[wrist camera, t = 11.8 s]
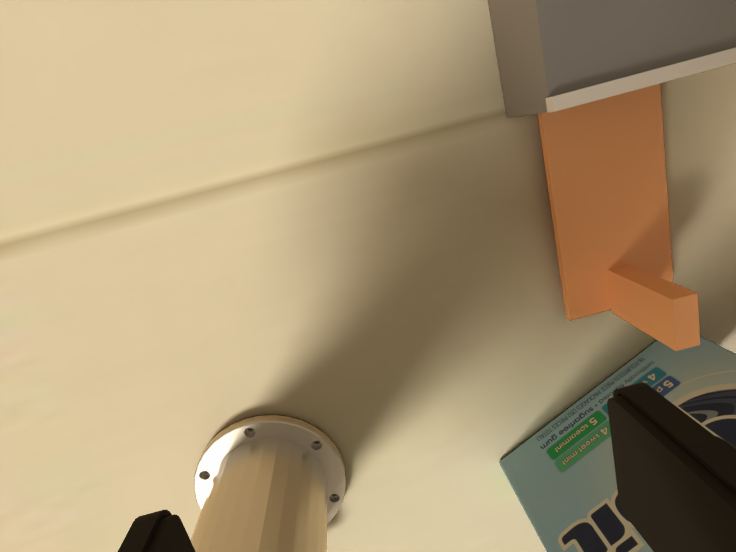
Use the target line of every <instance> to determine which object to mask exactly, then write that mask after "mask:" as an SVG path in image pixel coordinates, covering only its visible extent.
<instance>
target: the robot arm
mask: <svg viewBox="0 0 736 552" xmlns="http://www.w3.org/2000/svg"><path fill="white" fill-rule="evenodd" d="M607 407H608V415H609V424H610V432H611V440H612V449H613V457H614V465H615V474H616V482H617V490H618V498H619V502H620V505H621V508H622V510H623V512H624V514H625V515H626V517H627V518H628V520H629V521H630V522H631V524H632V525H633V526H634V527H635V529H636V530H637V531H638V532H639V534H640V535H641V536H642V538H643V539H644V540H645V541H646V543H647V544H648V545H649V546H650V548H651V549H652V550H653V552H736V448H734V447H733V446H732V445H730V444H729V443H728V442H726V441H725V440H723V439H721V438H720V437H717V436H714V435H713V434H712V433H710V432H709V431H708V430H706V429H705V428H704V427H702V426H701V425H700V424H699V423H697V422H696V421H695V420H693V419H692V418H691V417H689V416H688V415H687V414H685V413H684V412H683V411H682V410H680V409H679V408H678V407H676V406H675V405H674V404H672V403H671V402H670V401H668V400H667V399H666V398H665V397H663V396H662V395H661V394H659V393H658V392H657V391H655V390H654V389H653V388H651V387H650V386H649V385H647V384H646V383H642V382H640V383H636V384H633V385H629V386H625V387H621V388H618V389H615V390H614V393H613V397H612V398H609V399H608V401H607ZM345 486H346V476H345V466H344V463H343V460H342V457H341V454H340V453H339V451H338V449H337V447H336V446H335V444H334V443H333V442H332V441H331V440H330V439H329V438H328V436H327V435H326V434H324V433H323V432H322V431H320V430H319V429H317V428H316V427H315V426H313V425H310V424H308V423H306V422H304V421H302V420H299V419H295V418H292V417H288V416H279V415H264V416H256V417H252V418H247V419H244V420H241V421H239V422H236V423H234V424H232V425H230V426H229V427H227V428H225V429H224V430H222V431H221V432H219V433H218V434H217V435H216V436H215V437H214V438H213V439H212V440H211V441H210V442H209V444H208V445H207V447H206V448H205V450H204V451H203V453H202V456H201V458H200V460H199V462H198V465H197V468H196V471H195V476H194V490H195V495H196V500H197V502H198V505H199V507H200V509H201V513H200V516H199V519H198V522H197V524H196V527H195V530H194V533H193V536H192V538H191V541H190V539H189V536H188V534H187V532H186V530H185V528H184V526H183V524H182V521H181V519H180V518H179V516H177V515H171V513H170V512H169V511H168V510H162V511H158V512H154V513H150V514H147V515H143V516H139V517H138V518H136V519H135V521H134V522H133V524H132V526H131V528H130V530H129V531H128V533H127V535H126V537H125V539H124V541H123V543H122V545H121V547H120V549H119V550H118V552H326V551H327V524H328V523H329V522H330V521H331V520H332V518H333V517H334V516H335V515H336V513H337V512H338V510H339V508H340V506H341V504H342V502H343V498H344V494H345Z"/></svg>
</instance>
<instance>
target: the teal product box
mask: <svg viewBox="0 0 736 552" xmlns="http://www.w3.org/2000/svg"><path fill="white" fill-rule="evenodd" d="M640 382H642V383H646V384H647V385H649V386H650V387H651V388H653V389H654V390H655V391H657V392H658V393H659V394H661V395H662V396H663V397H665V398H666V399H667V400H668V401H670V402H671V403H672V404H674V405H675V406H676V407H678V408H679V409H680V410H682V411H683V412H684V413H685V414H687V415H688V416H689V417H691V418H692V419H693V420H695V421H696V422H697V423H699V424H700V425H701V426H702V427H704V428H705V429H706V430H708V431H709V432H710V433H712V434H713V435H714V436H717V437H720V438H721V439H723V440H725V441H726V442H728V443H729V444H730V445H732V446H733V447H734V448H736V354H735V353H733V352H731V351H729V350H727V349H725V348H723V347H721V346H719V345H717V344H715V343H713V342H711V341H709V340H707V339H705V338H703V337H702V336H700V345H697V346H694V347H690V348H686V349H683V350H679V351H675V350H673V349H671V348H670V347H668V346H667V345H665V344H663V343H662V342H660V341H658V340H657V341H655V342H654V343H653V344H651V345H650V346H649V347H648V348H646V349H645V350H644V351H642V352H641V353H640V354H639V355H637V356H636V357H635V358H633V359H632V360H631V361H630V362H628V363H627V364H626V365H624V366H623V367H622V368H620V369H619V370H618V371H617V372H615V373H614V374H613V375H611V376H610V377H609V378H607V379H606V380H605V381H603V382H602V383H601V384H600V385H598V386H597V387H596V388H595V389H593V390H592V391H591V392H589V393H588V394H587V395H585V396H584V397H583V398H581V399H580V400H579V401H578V402H576V403H575V404H574V405H572V406H571V407H570V408H569V409H567V410H566V411H565V412H563V413H562V414H561V415H559V416H558V417H557V418H555V419H554V420H553V421H552V422H550V423H549V424H548V425H546V426H545V427H544V428H543V429H541V430H540V431H539V432H537V433H536V434H535V435H534V436H532V437H531V438H530V439H528V440H527V441H526V442H524V443H523V444H522V445H521V446H519V447H518V448H517V449H515V450H514V451H513V452H511V453H510V454H509V455H508V456H506V457H505V458H503V459H502V460H501V461H500V462H499V463H500V465H501V467H502V469H503V471H504V473H505V475H506V477H507V479H508V480H509V482H510V484H511V486H512V488H513V490H514V491H515V493H516V495H517V497H518V499H519V501H520V503H521V505H522V506H523V508H524V510H525V512H526V514H527V516H528V518H529V519H530V521H531V523H532V525H533V527H534V529H535V531H536V532H537V534H538V536H539V538H540V540H541V542H542V544H543V545H544V547H545V549H546V551H547V552H653V550H652V549H651V548H650V546H649V545H648V544H647V543H646V541H645V540H644V539H643V538H642V536H641V535H640V534H639V532H638V531H637V530H636V529H635V527H634V526H633V525H632V524H631V522H630V521H629V520H628V518H627V517H626V515H625V514H624V512H623V510H622V508H621V505H620V502H619V498H618V490H617V482H616V474H615V465H614V457H613V449H612V440H611V432H610V424H609V415H608V407H607V401H608V399H609V398H612V397H613V393H614V390H615V389H618V388H621V387H625V386H629V385H633V384H636V383H640Z"/></svg>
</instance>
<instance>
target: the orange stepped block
mask: <svg viewBox="0 0 736 552" xmlns="http://www.w3.org/2000/svg"><path fill="white" fill-rule="evenodd" d="M538 120H539V127H540V134H541V141H542V148H543V155H544V162H545V169H546V177H547V184H548V191H549V198H550V205H551V212H552V219H553V226H554V233H555V240H556V248H557V255H558V262H559V269H560V276H561V283H562V290H563V297H564V304H565V311H566V318H567V319H569V320H570V321H571V320H574V319H578V318H582V317H586V316H589V315H593V314H597V313H600V312H604V311H608V310H612V312H613V313H614V314H615V315H617V316H619V317H620V318H622V319H624V320H625V321H627V322H629V323H630V324H632V325H633V326H635V327H637V328H638V329H640V330H642V331H643V332H645V333H647V334H648V335H650V336H652V337H653V338H655V339H657V340H658V341H660V342H662V343H663V344H665V345H667V346H668V347H670V348H671V349H673V350H675V351H679V350H683V349H686V348H690V347H694V346H697V345H700V330H699V311H698V293H696V292H694V291H691V290H689V289H686V288H684V287H682V286H679V285H677V284H674V283H673V269H672V254H671V239H670V224H669V209H668V194H667V179H666V164H665V149H664V134H663V119H662V104H661V89H660V84H656V85H652V86H648V87H645V88H641V89H637V90H634V91H630V92H626V93H622V94H619V95H615V96H611V97H607V98H604V99H600V100H596V101H592V102H589V103H585V104H581V105H578V106H574V107H570V108H566V109H563V110H559V111H555V112H549V113H547V112H546V113H539V114H538Z"/></svg>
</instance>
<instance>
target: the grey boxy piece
mask: <svg viewBox="0 0 736 552" xmlns="http://www.w3.org/2000/svg"><path fill="white" fill-rule="evenodd" d="M488 4H489V10H490V16H491V22H492V29H493V35H494V41H495V47H496V54H497V60H498V66H499V73H500V79H501V85H502V91H503V98H504V104H505V110H506V116H507V118H512V117H519V116H526V115H533V114H539V113H546V112H547V113H549V112H555V111H559V110H563V109H566V108H570V107H574V106H578V105H581V104H585V103H589V102H592V101H596V100H600V99H604V98H607V97H611V96H615V95H619V94H622V93H626V92H630V91H634V90H637V89H641V88H645V87H648V86H652V85H656V84H660V83H663V82H667V81H671V80H675V79H678V78H682V77H686V76H690V75H693V74H697V73H701V72H705V71H708V70H712V69H716V68H719V67H723V66H727V65H731V64H734V63H736V0H488Z"/></svg>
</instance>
